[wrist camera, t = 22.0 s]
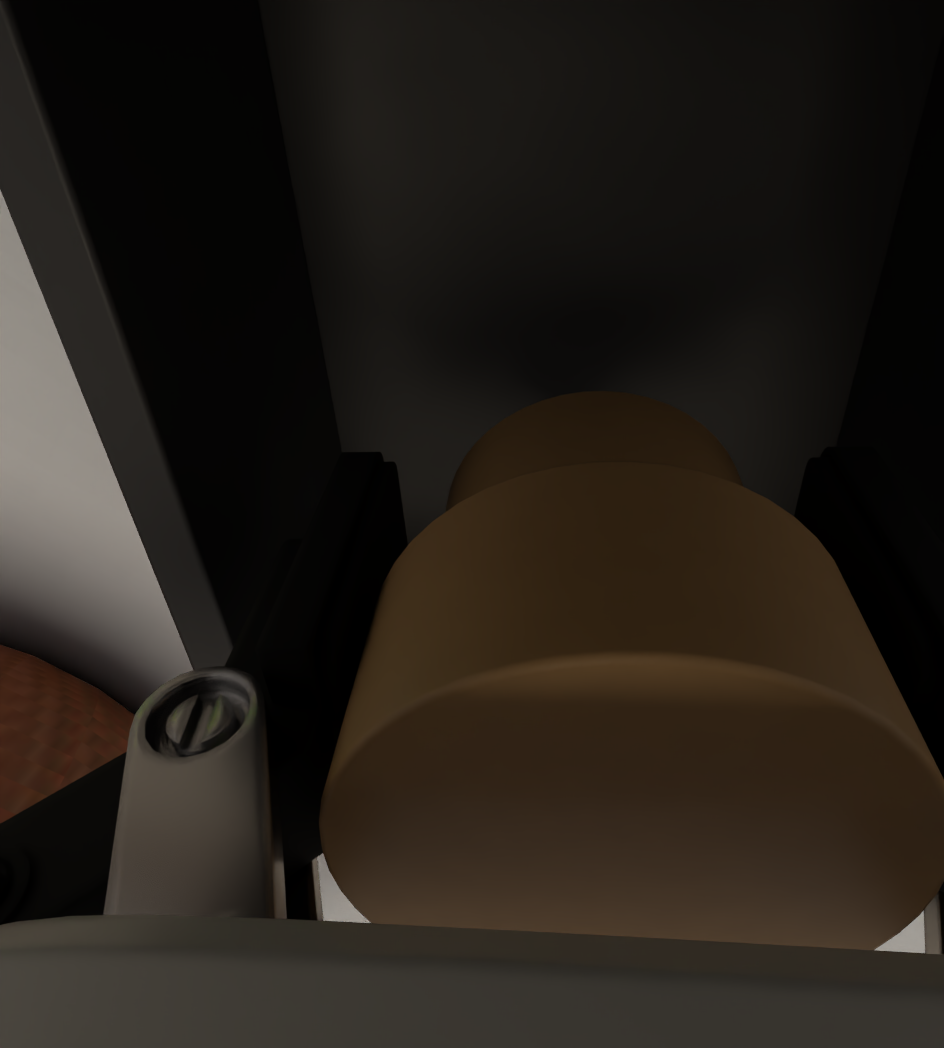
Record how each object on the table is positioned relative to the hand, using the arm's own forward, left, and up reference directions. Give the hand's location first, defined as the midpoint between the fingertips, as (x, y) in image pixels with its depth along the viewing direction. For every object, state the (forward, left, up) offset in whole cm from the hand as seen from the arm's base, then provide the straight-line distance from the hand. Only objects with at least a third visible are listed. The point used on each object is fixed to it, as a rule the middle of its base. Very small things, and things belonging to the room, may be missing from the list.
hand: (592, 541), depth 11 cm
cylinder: (0, 0, -1) cm, 1 cm away
